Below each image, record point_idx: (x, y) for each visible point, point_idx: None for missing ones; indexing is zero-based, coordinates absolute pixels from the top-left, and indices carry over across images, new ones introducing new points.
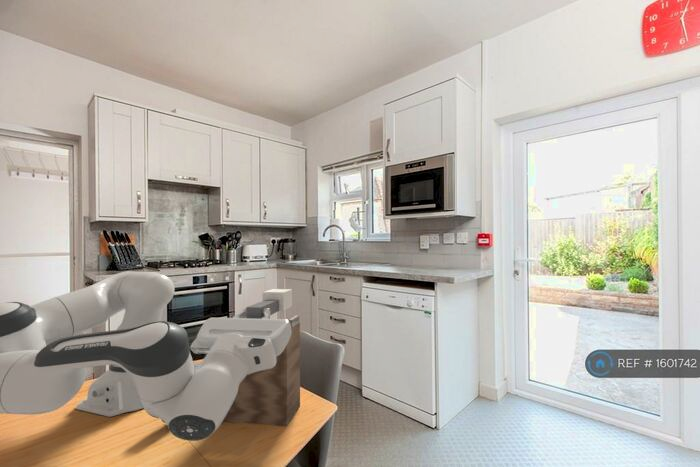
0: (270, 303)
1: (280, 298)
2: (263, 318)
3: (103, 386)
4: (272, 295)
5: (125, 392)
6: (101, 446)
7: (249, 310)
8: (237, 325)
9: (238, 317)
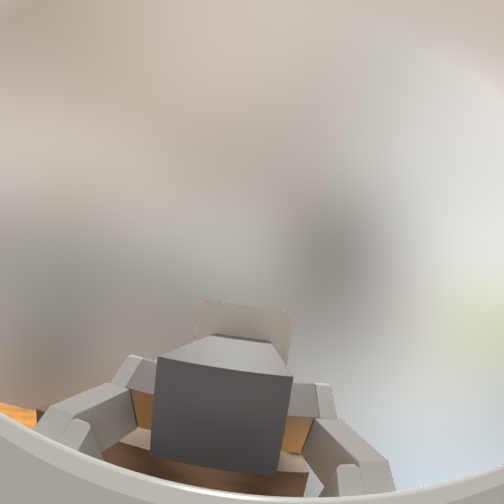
0: (276, 352)
1: (277, 336)
2: (353, 481)
3: None
4: (242, 319)
5: None
6: None
7: (183, 389)
8: None
9: (86, 435)
